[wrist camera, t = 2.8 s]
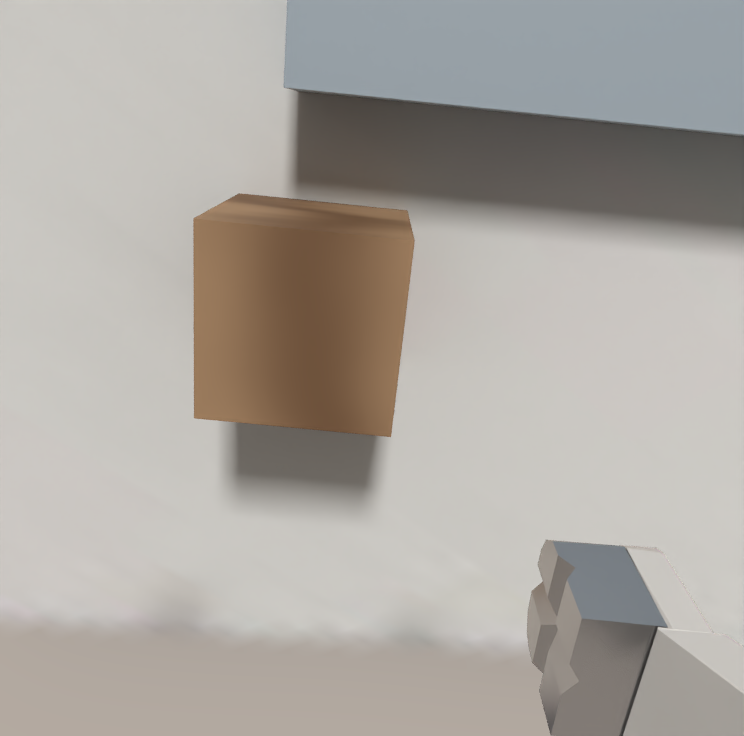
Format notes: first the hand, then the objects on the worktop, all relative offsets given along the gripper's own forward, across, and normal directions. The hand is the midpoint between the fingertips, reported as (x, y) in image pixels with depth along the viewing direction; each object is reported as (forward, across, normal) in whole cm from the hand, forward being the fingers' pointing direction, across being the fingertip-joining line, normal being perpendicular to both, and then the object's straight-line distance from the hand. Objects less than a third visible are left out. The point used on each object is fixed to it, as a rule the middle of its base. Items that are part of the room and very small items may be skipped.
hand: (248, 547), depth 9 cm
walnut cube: (+14, +1, 0) cm, 14 cm away
